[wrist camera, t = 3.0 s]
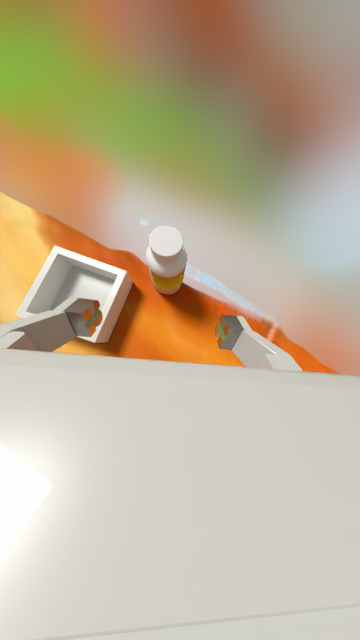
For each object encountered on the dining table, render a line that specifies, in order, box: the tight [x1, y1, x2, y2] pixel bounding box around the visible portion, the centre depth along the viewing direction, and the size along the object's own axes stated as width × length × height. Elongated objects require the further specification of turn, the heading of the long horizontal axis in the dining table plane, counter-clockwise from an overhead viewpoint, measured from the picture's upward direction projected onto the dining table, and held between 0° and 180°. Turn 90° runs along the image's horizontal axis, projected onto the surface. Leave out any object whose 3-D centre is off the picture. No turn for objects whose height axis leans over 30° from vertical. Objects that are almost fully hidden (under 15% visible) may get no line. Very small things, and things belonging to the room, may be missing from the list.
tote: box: [15, 246, 134, 343], centre depth 27 cm, size 14×14×5 cm
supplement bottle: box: [146, 226, 187, 294], centre depth 25 cm, size 7×7×13 cm
